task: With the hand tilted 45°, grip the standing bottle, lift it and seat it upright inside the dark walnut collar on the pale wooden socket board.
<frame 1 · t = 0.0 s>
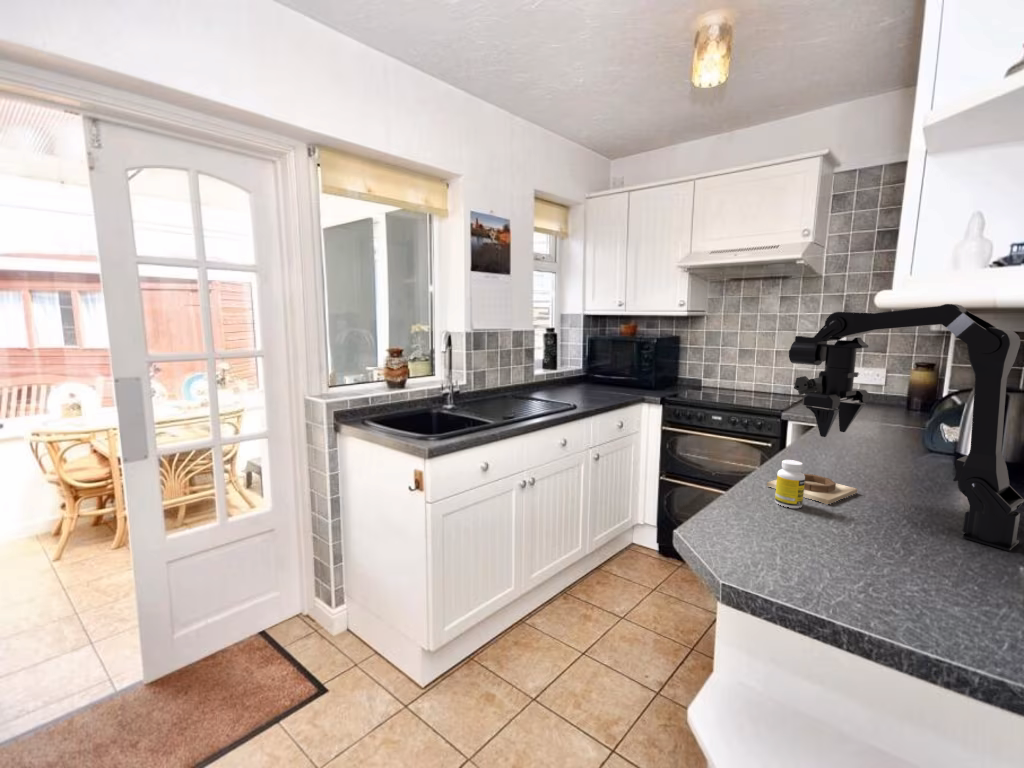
hand: (833, 434, 113), 15 cm above the countertop, tool pointing down, fingers open, 9 cm apart
supplement bottle: (788, 505, 109), on the countertop
socket board: (811, 490, 118), on the countertop
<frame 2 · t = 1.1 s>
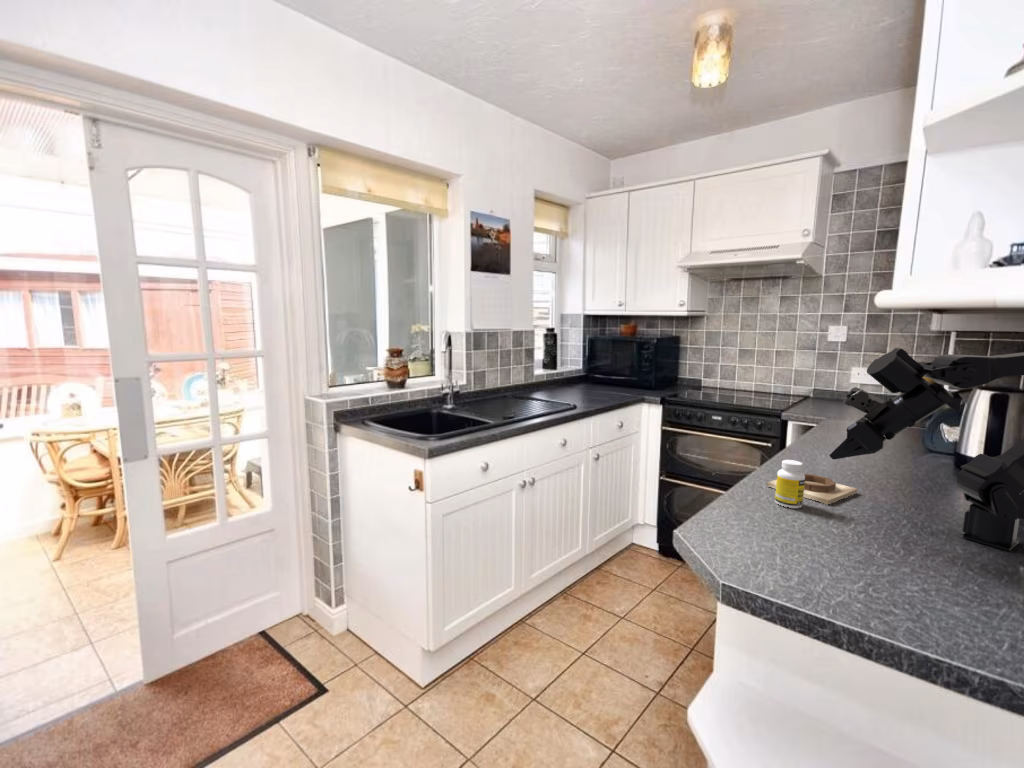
hand: (836, 453, 102), 13 cm above the countertop, tool tilted 45°, fingers open, 9 cm apart
nothing on the countertop moved.
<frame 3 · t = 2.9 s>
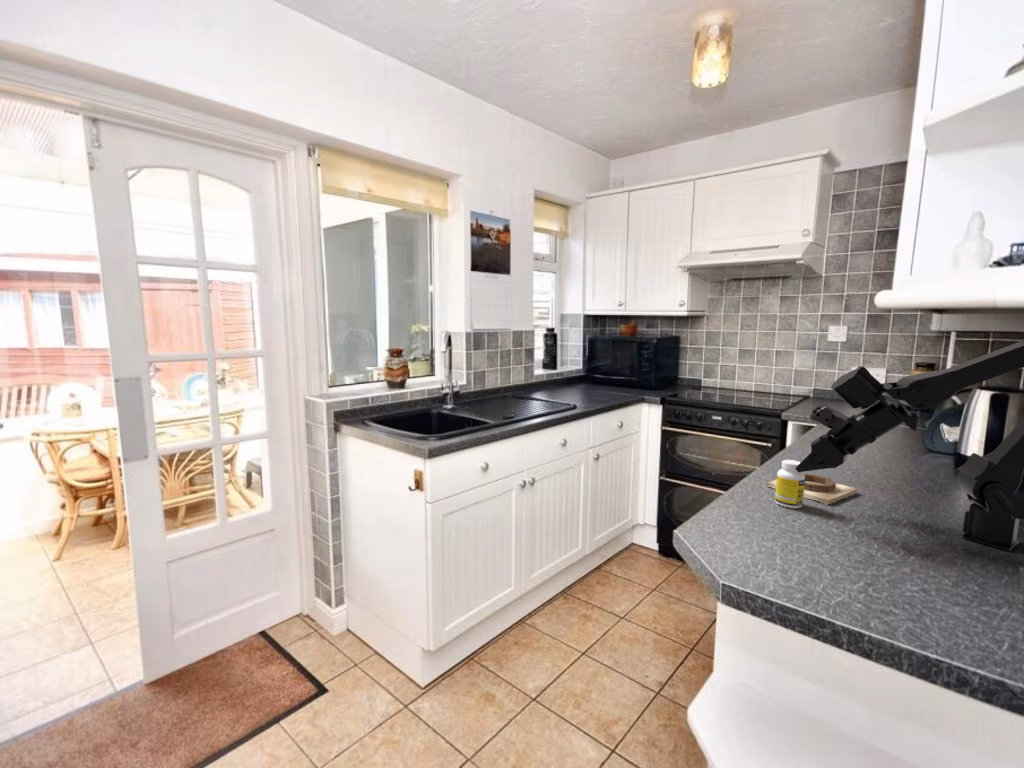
hand: (803, 465, 106), 9 cm above the countertop, tool tilted 45°, fingers open, 9 cm apart
nothing on the countertop moved.
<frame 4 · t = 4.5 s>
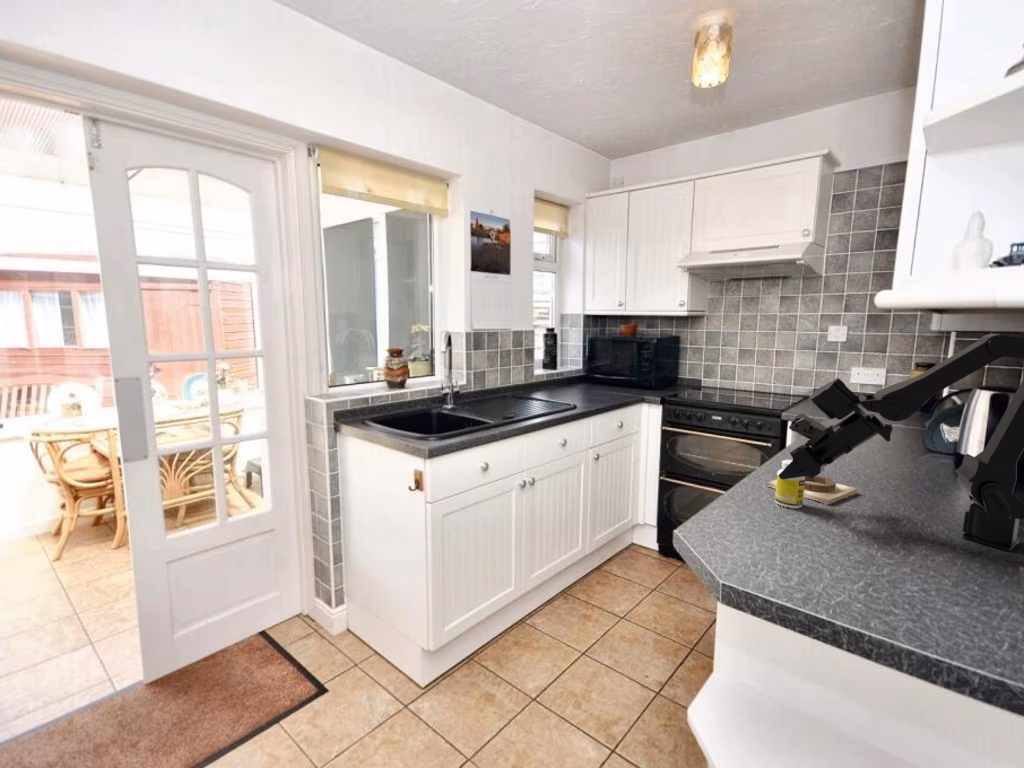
hand: (784, 474, 109), 7 cm above the countertop, tool tilted 45°, fingers closed on supplement bottle, 5 cm apart
supplement bottle: (788, 505, 109), on the countertop, touching gripper
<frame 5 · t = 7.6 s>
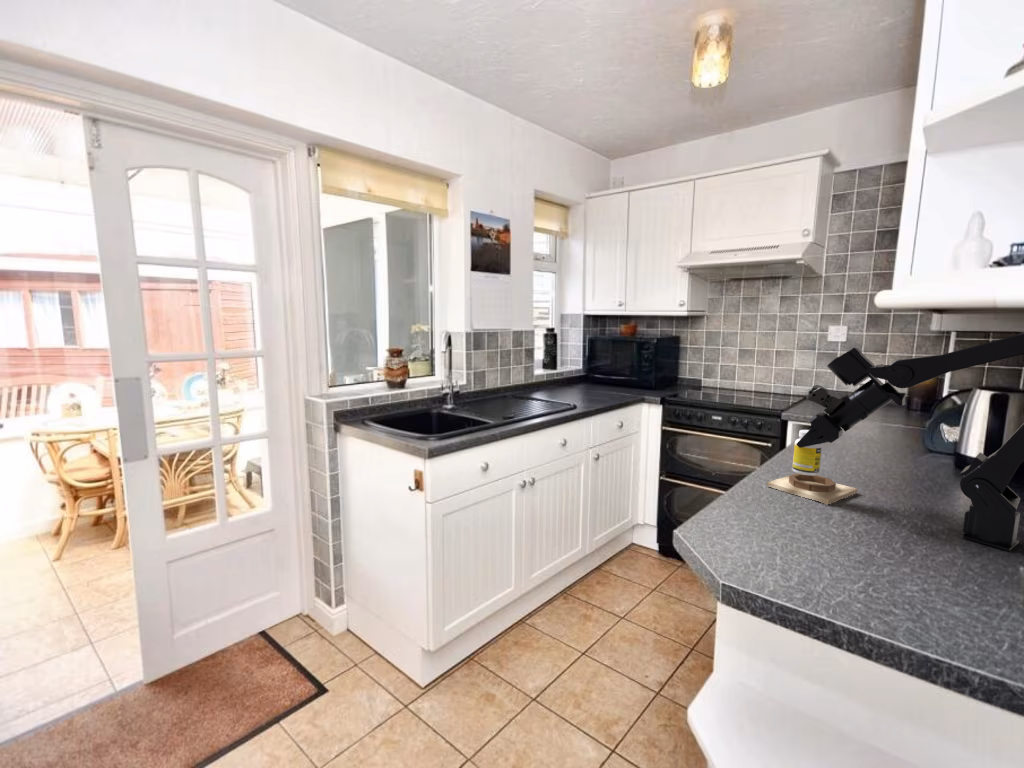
hand: (801, 443, 114), 12 cm above the countertop, tool tilted 45°, fingers closed on supplement bottle, 5 cm apart
supplement bottle: (805, 473, 114), point 5 cm above the countertop, touching gripper
when the fingers open (9 cm above the countertop, at t = 10.3 s): supplement bottle stays where it is, resting on socket board.
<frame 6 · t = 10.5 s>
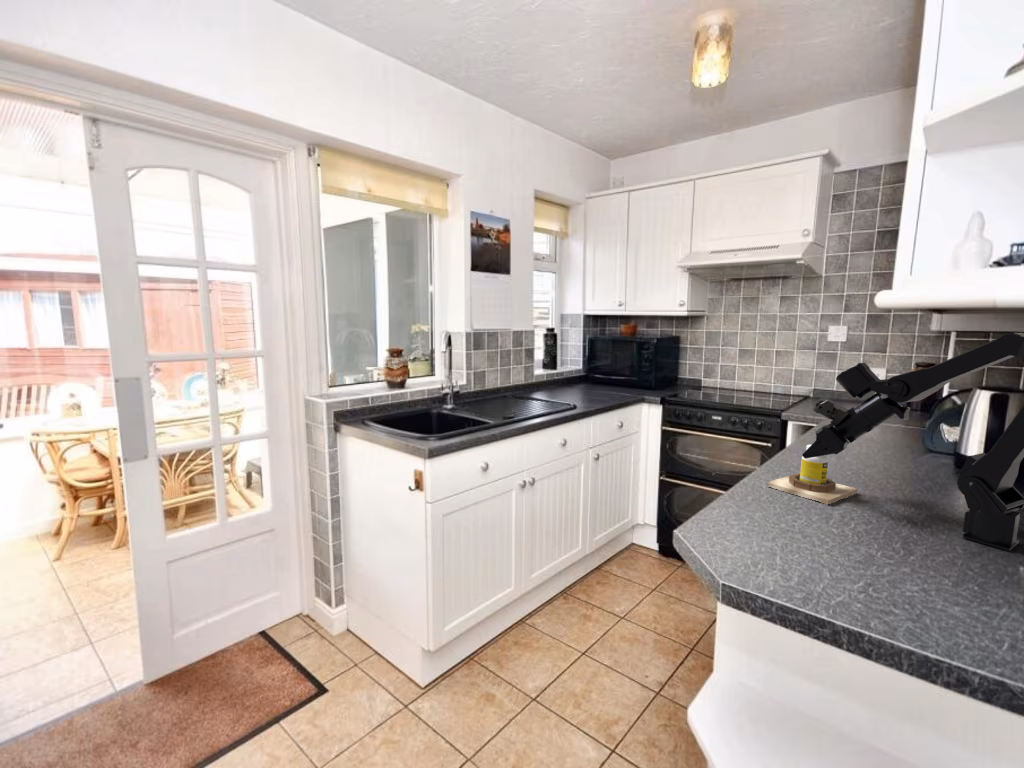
hand: (807, 453, 118), 9 cm above the countertop, tool tilted 45°, fingers open, 7 cm apart
supplement bottle: (812, 486, 118), point 1 cm above the countertop, touching socket board
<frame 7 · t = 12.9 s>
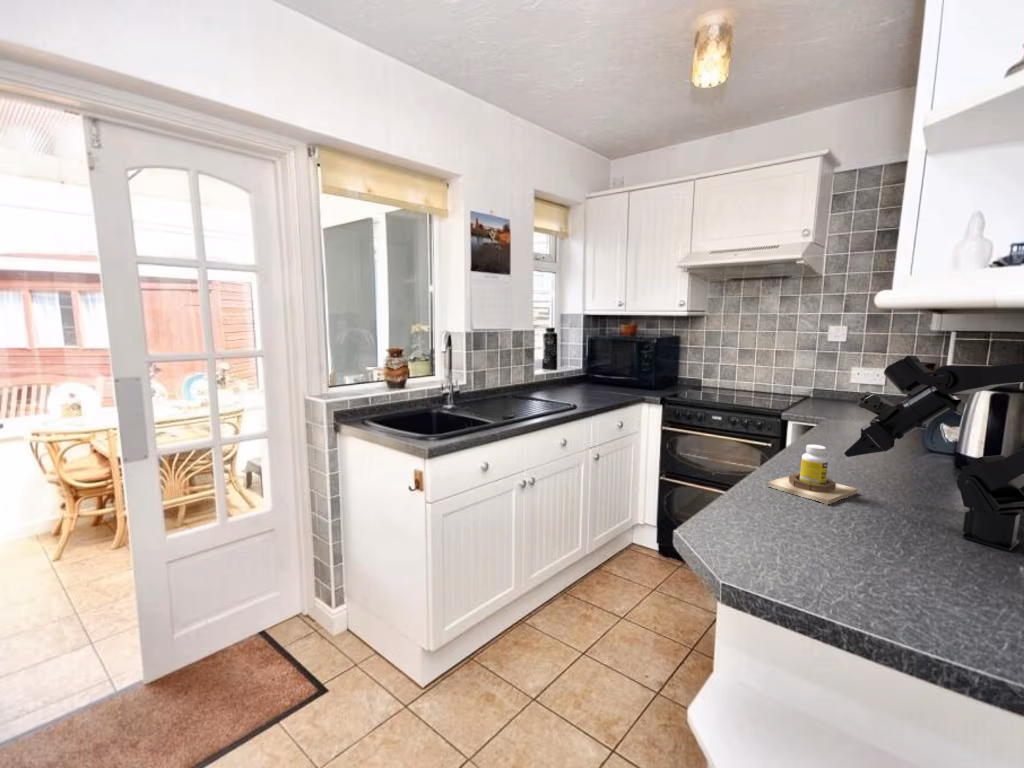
hand: (850, 451, 112), 11 cm above the countertop, tool tilted 45°, fingers open, 9 cm apart
nothing on the countertop moved.
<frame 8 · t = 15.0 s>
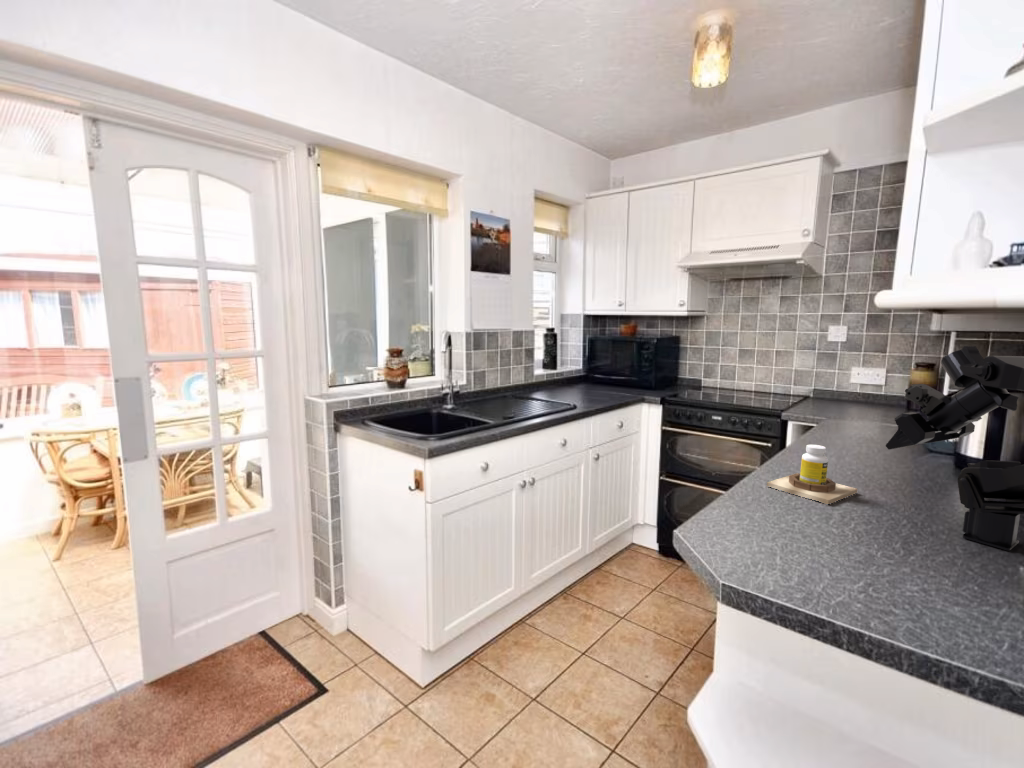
hand: (900, 445, 108), 14 cm above the countertop, tool tilted 45°, fingers open, 9 cm apart
nothing on the countertop moved.
at the end: supplement bottle 0.2 cm off-centre on the socket board, point 1.0 cm above the socket board's base; supplement bottle tilted 0°; the gripper is holding nothing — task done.
